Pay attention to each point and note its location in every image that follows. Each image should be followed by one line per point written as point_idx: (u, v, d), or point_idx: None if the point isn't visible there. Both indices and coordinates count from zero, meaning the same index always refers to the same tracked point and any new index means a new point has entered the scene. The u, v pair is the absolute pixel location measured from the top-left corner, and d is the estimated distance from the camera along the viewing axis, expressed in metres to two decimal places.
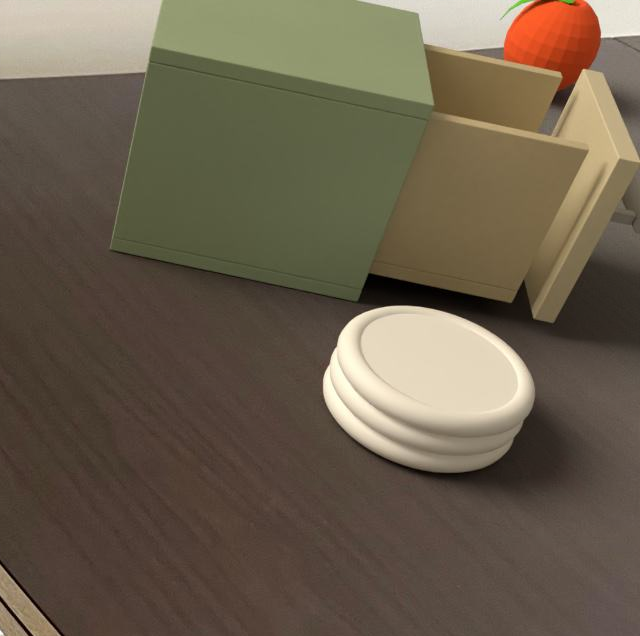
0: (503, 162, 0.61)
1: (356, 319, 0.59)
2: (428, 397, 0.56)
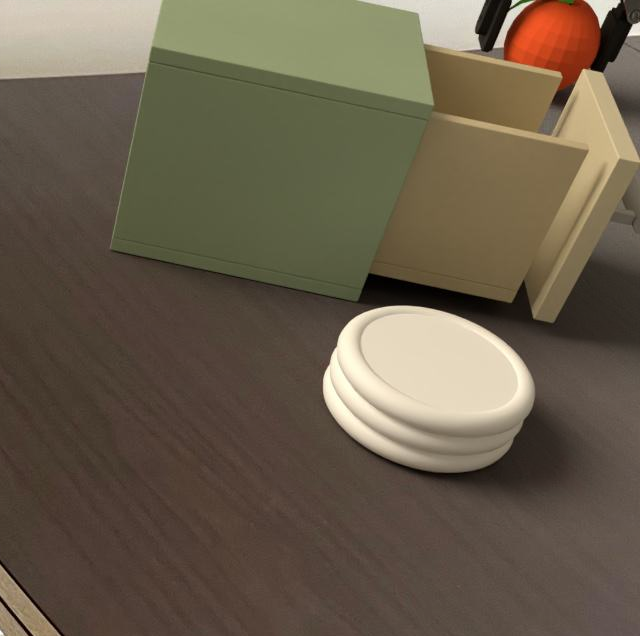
0: (503, 162, 0.61)
1: (356, 319, 0.59)
2: (428, 396, 0.56)
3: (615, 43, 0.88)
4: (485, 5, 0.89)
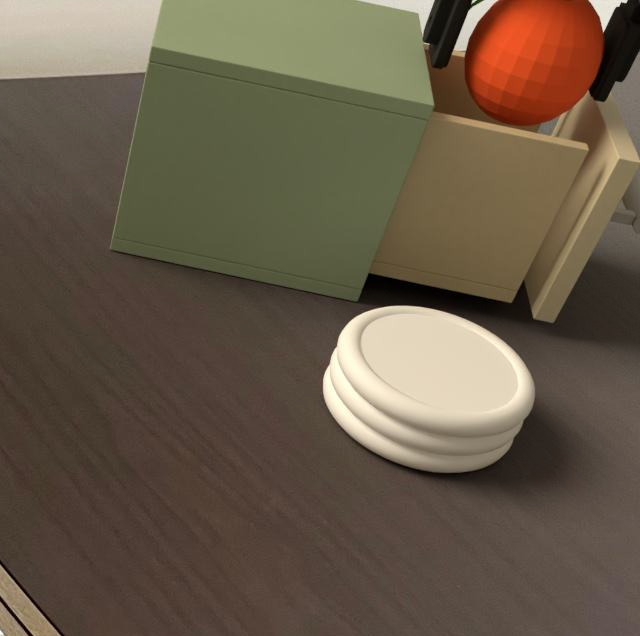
0: (503, 162, 0.61)
1: (356, 319, 0.59)
2: (428, 397, 0.56)
3: (625, 55, 0.60)
4: (436, 1, 0.61)
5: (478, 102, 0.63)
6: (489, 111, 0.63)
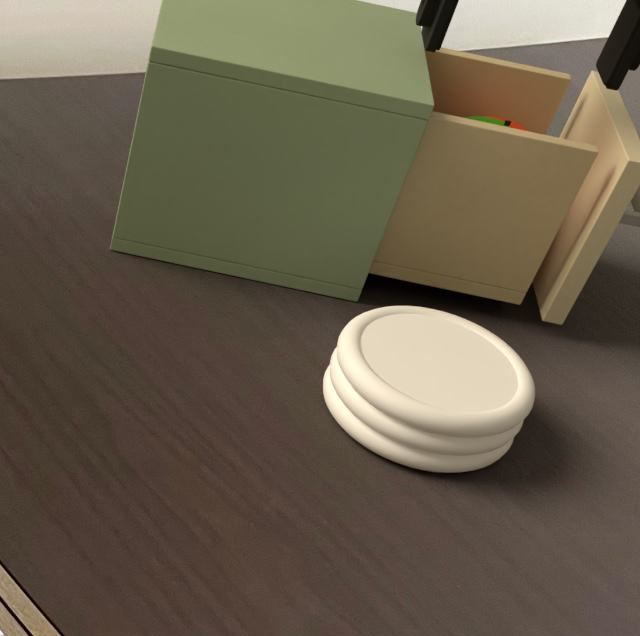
0: (512, 164, 0.61)
1: (356, 319, 0.59)
2: (428, 396, 0.56)
3: (639, 42, 0.59)
4: None
5: None
6: None
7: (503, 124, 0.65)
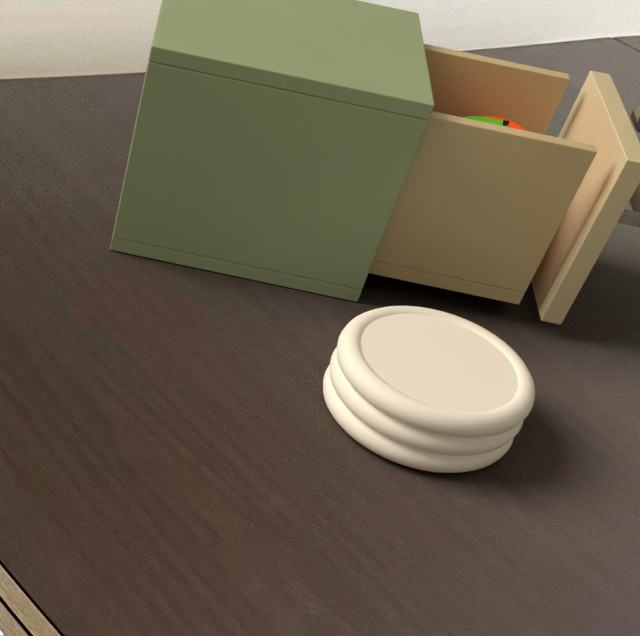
0: (511, 164, 0.61)
1: (356, 319, 0.59)
2: (428, 397, 0.56)
3: None
4: None
5: None
6: None
7: (501, 124, 0.65)
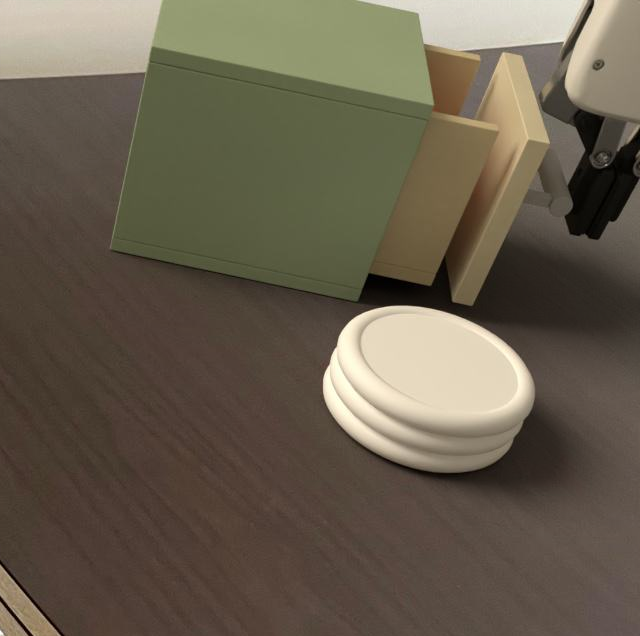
0: None
1: (356, 319, 0.59)
2: (428, 397, 0.56)
3: (617, 201, 0.65)
4: (576, 175, 0.66)
5: None
6: None
7: None
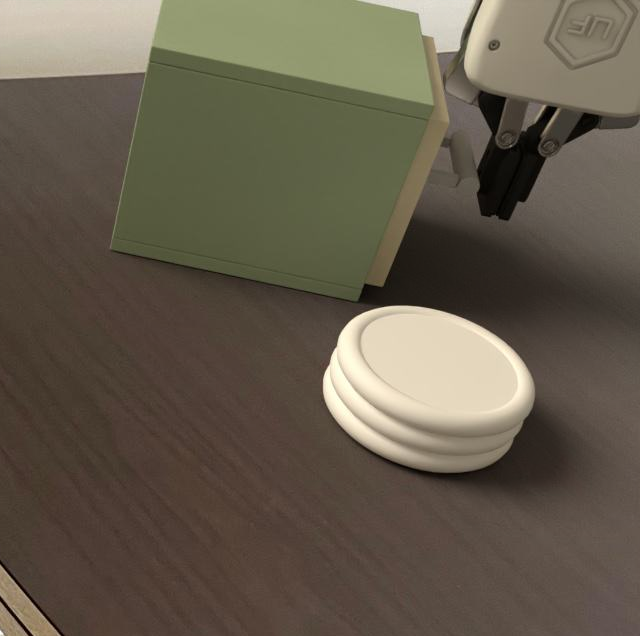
0: None
1: (356, 319, 0.59)
2: (428, 397, 0.56)
3: (524, 181, 0.65)
4: (485, 156, 0.66)
5: None
6: None
7: None
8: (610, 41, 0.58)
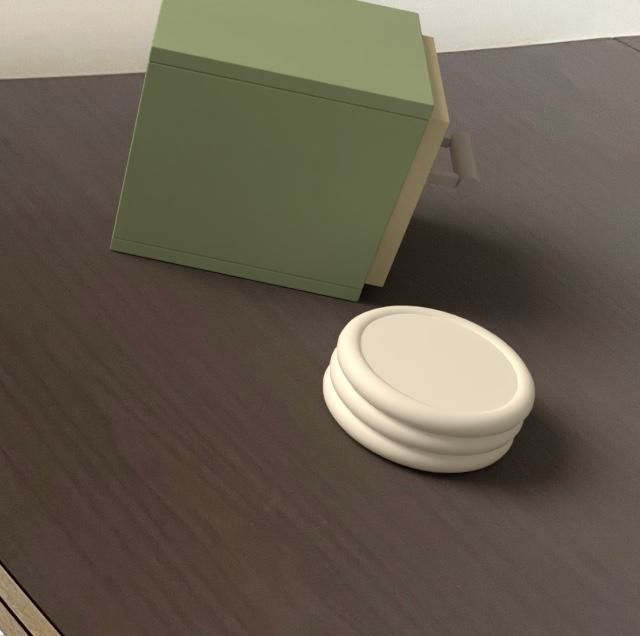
0: None
1: (356, 319, 0.59)
2: (428, 397, 0.56)
3: None
4: None
5: None
6: None
7: None
8: None
